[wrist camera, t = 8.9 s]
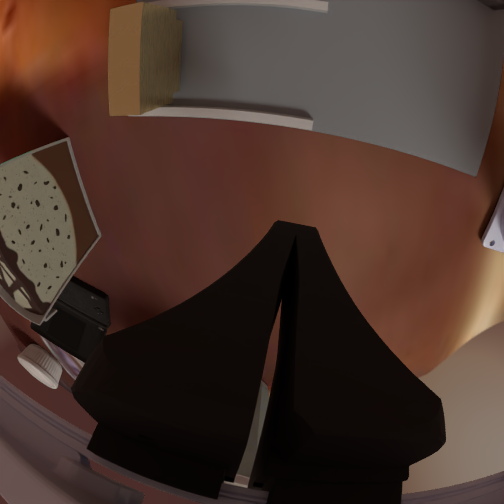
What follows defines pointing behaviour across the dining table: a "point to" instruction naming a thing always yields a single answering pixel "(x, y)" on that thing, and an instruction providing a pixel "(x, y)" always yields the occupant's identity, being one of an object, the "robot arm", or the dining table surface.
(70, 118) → the dining table surface
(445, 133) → the control panel
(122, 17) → the tall mustard sponge block
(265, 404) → the disposable coffee cup
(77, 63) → the dining table surface
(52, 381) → the ramekin
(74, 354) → the handheld gaming console
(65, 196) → the food container
